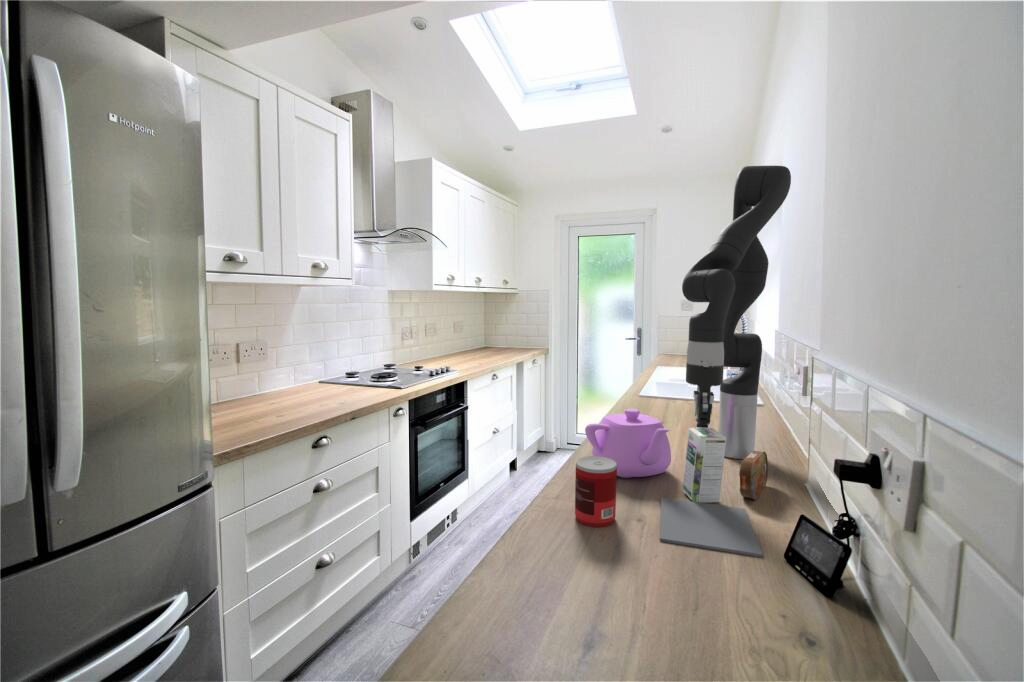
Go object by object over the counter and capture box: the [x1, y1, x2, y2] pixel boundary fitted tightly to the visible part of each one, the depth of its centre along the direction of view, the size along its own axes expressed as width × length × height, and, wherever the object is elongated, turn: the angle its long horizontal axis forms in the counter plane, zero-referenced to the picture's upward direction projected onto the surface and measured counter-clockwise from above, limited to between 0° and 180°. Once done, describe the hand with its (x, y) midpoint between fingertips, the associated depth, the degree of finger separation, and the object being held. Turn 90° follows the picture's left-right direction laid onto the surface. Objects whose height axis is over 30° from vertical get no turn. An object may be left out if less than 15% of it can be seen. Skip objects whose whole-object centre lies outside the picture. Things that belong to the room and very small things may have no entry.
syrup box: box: [682, 426, 726, 504], centre depth 99 cm, size 6×6×14 cm
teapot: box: [584, 408, 672, 479], centre depth 113 cm, size 23×21×15 cm
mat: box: [659, 497, 763, 558], centre depth 88 cm, size 18×16×1 cm
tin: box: [738, 450, 769, 501], centre depth 103 cm, size 15×3×8 cm, turn 140°
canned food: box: [574, 455, 618, 528], centre depth 90 cm, size 8×8×11 cm
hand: (701, 440), depth 104 cm, fingers closed
